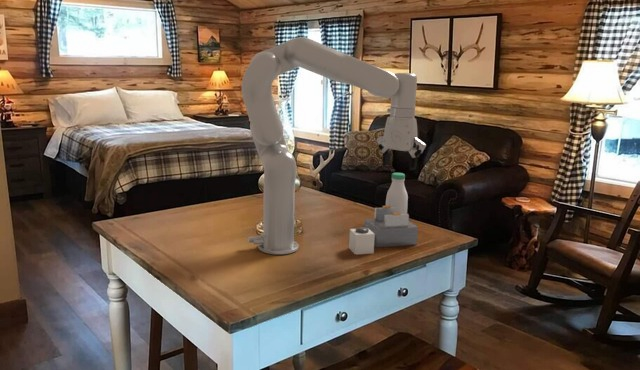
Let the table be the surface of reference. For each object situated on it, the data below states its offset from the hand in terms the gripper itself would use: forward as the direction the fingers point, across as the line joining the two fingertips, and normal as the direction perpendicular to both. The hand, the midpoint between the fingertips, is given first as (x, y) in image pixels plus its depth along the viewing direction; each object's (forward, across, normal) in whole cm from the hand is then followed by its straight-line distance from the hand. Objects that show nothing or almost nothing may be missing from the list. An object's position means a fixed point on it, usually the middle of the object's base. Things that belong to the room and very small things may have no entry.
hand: (399, 167), depth 175 cm
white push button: (+26, -4, -13) cm, 29 cm away
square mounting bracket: (+25, -3, +2) cm, 26 cm away
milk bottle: (+26, -9, +15) cm, 31 cm away
